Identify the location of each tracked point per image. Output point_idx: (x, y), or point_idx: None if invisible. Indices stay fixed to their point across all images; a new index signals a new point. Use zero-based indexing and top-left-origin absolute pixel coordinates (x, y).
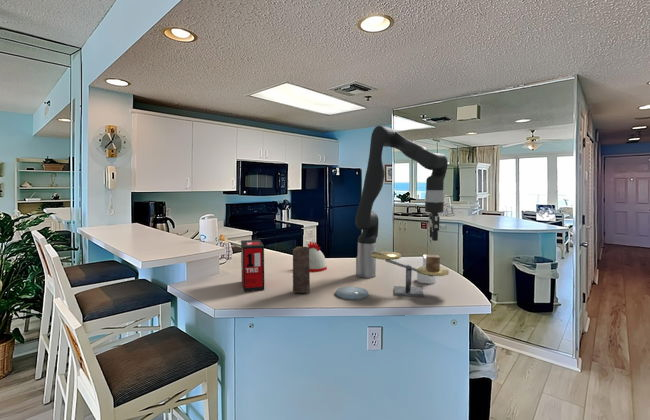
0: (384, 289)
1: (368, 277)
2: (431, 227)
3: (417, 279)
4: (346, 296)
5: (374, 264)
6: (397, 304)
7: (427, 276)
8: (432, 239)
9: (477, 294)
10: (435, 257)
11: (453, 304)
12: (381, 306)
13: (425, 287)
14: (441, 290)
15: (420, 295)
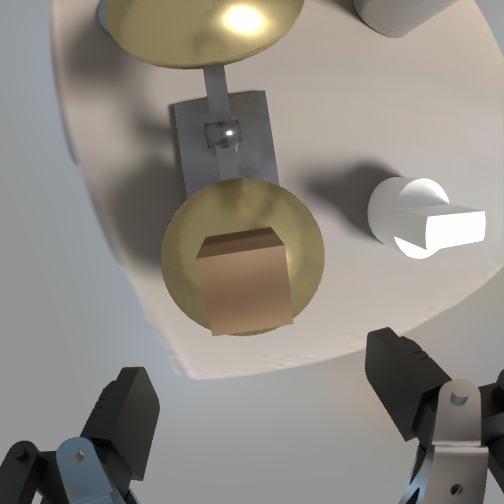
0: (235, 63)
1: (358, 13)
2: (433, 423)
3: (389, 179)
4: (100, 3)
5: (399, 12)
6: (89, 138)
7: (380, 219)
8: (123, 372)
9: (280, 368)
10: (206, 310)
11: (152, 304)
12: (65, 102)
13: (314, 209)
14: None
15: (187, 198)
